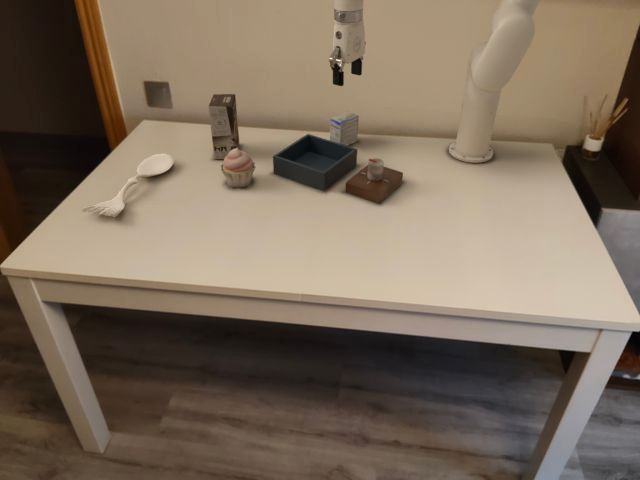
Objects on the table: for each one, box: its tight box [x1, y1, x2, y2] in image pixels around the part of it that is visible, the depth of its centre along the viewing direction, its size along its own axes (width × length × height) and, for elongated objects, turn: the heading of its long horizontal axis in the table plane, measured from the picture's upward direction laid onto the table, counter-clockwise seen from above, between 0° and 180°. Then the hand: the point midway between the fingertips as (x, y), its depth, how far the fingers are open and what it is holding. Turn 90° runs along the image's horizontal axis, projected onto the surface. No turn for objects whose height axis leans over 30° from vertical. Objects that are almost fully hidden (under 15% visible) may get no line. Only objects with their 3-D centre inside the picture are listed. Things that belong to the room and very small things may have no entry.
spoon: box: [82, 153, 174, 218], centre depth 141 cm, size 9×32×4 cm, turn 164°
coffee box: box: [208, 93, 241, 160], centre depth 155 cm, size 9×6×16 cm
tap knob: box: [367, 157, 385, 181], centre depth 141 cm, size 4×4×5 cm
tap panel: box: [344, 164, 404, 205], centre depth 143 cm, size 13×10×3 cm
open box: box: [272, 133, 358, 192], centre depth 150 cm, size 17×17×5 cm
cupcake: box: [220, 148, 257, 189], centre depth 143 cm, size 9×9×10 cm
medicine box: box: [329, 111, 360, 146], centre depth 162 cm, size 8×4×9 cm, turn 135°
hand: (347, 79), depth 153 cm, fingers open, 9 cm apart
